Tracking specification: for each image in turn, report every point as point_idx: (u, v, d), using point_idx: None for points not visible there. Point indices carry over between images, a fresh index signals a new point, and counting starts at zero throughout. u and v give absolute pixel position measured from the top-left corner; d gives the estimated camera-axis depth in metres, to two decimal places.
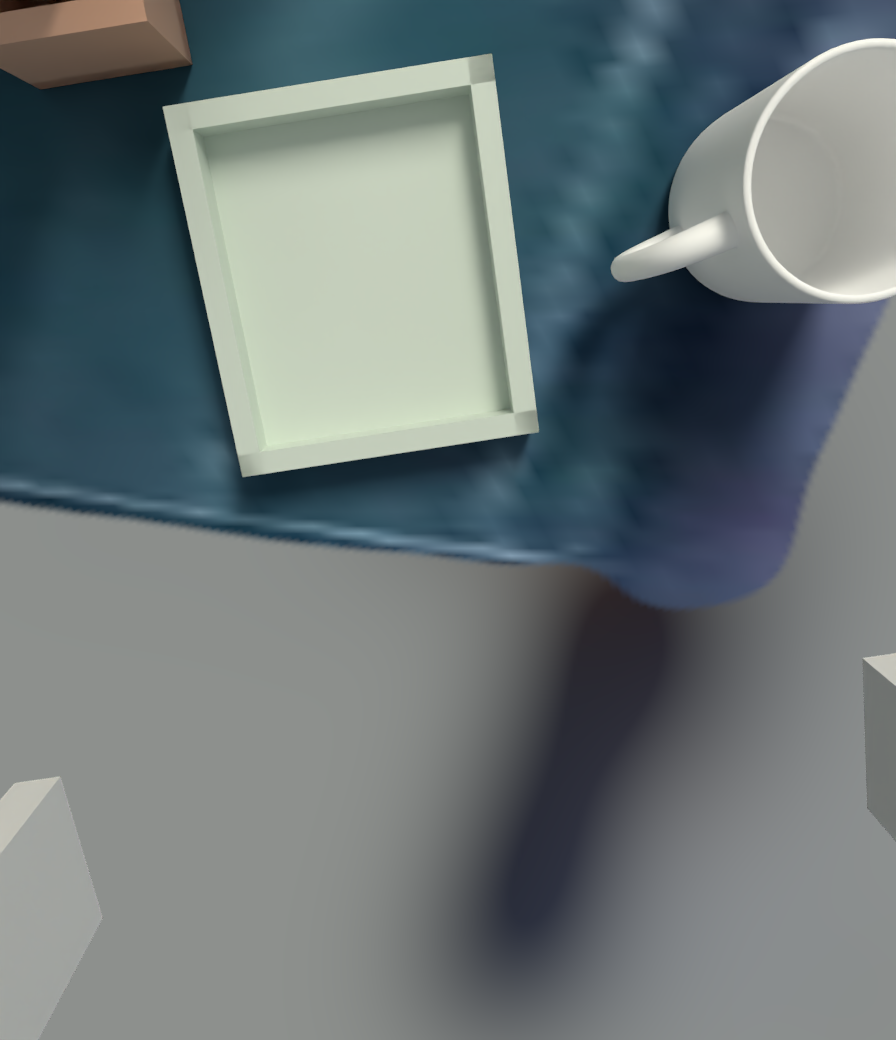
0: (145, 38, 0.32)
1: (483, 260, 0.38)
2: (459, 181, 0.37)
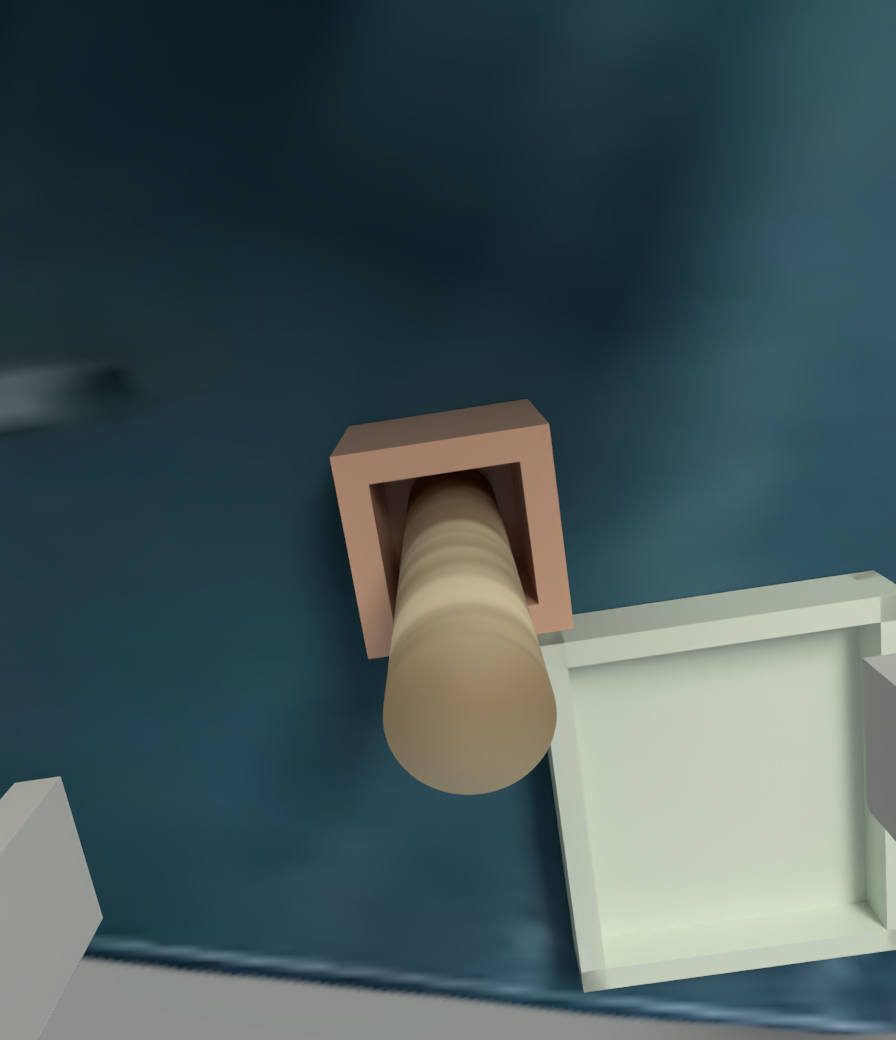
0: None
1: (855, 762, 0.34)
2: (837, 688, 0.34)
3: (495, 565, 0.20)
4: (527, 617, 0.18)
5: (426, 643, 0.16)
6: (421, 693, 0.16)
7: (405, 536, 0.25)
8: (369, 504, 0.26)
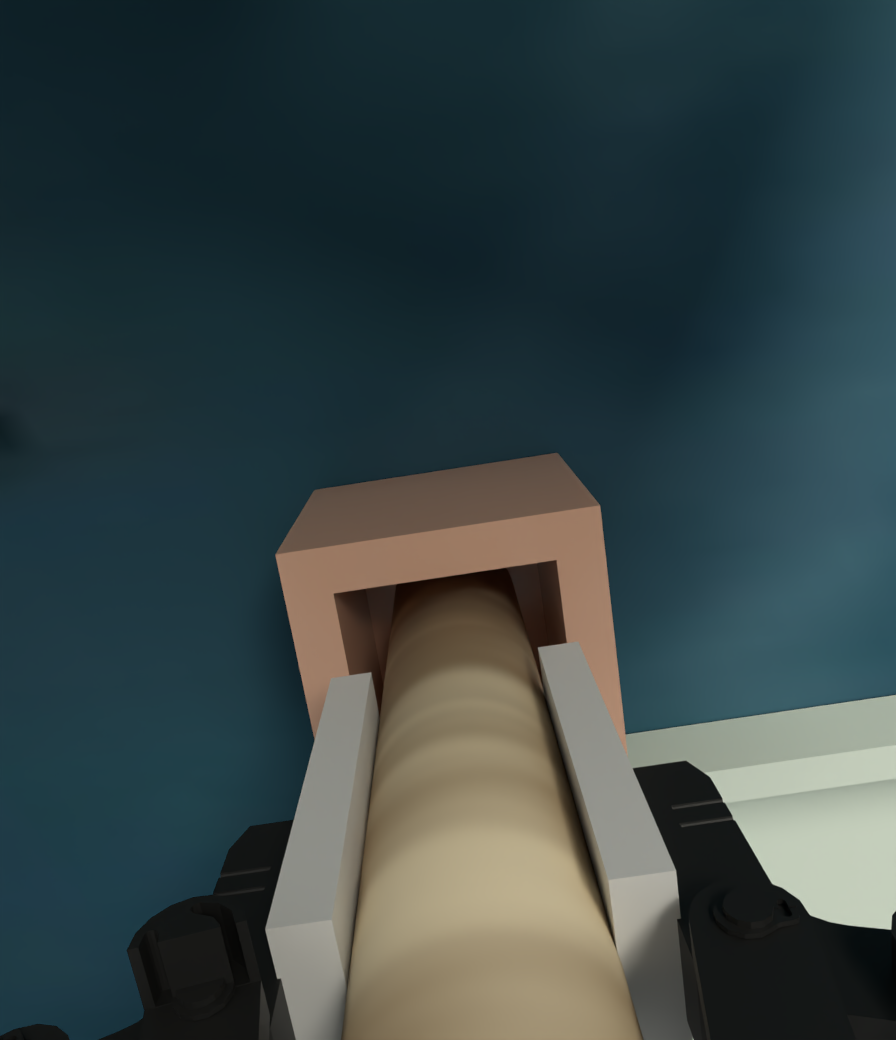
0: None
1: None
2: None
3: (534, 783, 0.12)
4: (601, 917, 0.10)
5: None
6: None
7: (387, 674, 0.17)
8: (334, 621, 0.18)
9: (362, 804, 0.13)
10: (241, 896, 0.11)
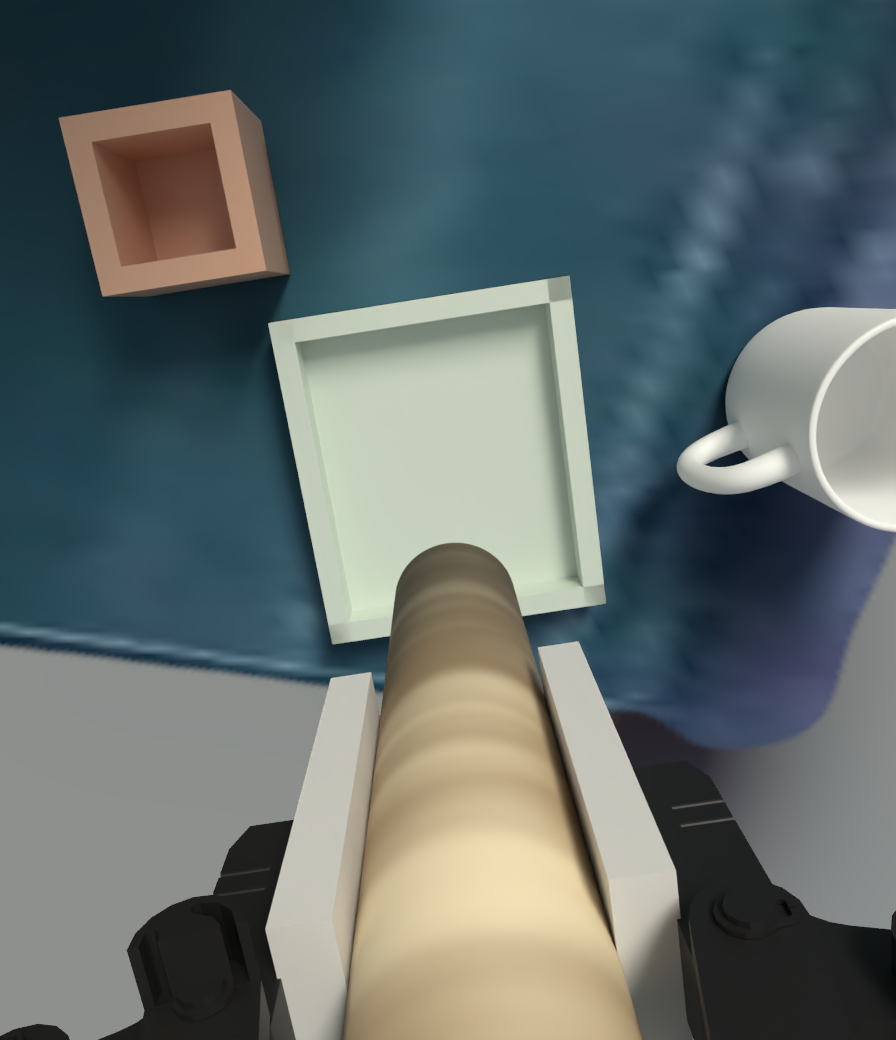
0: (258, 274, 0.36)
1: (555, 446, 0.41)
2: (533, 378, 0.40)
3: (535, 786, 0.12)
4: (602, 922, 0.10)
5: None
6: None
7: (387, 676, 0.17)
8: (93, 159, 0.33)
9: (362, 804, 0.13)
10: (241, 896, 0.11)
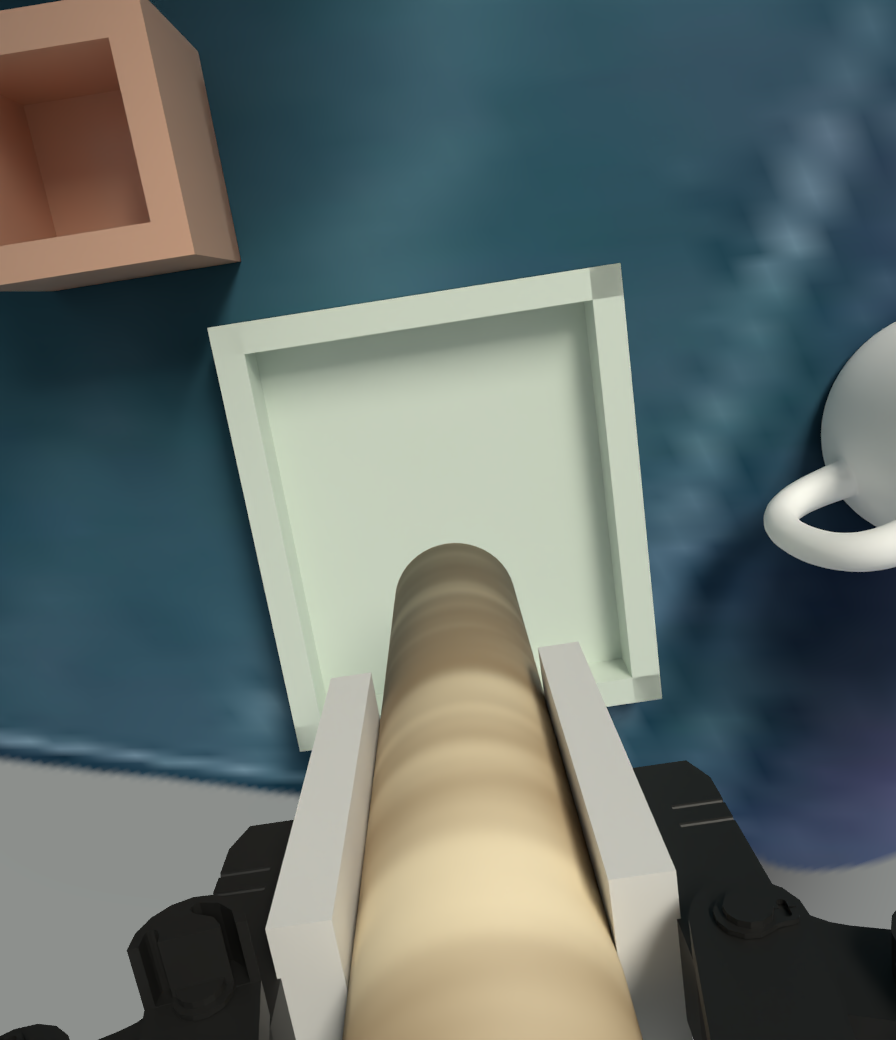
0: (189, 260, 0.26)
1: (595, 490, 0.31)
2: (568, 400, 0.30)
3: (535, 787, 0.12)
4: (602, 923, 0.10)
5: None
6: None
7: (387, 677, 0.17)
8: None
9: (362, 804, 0.13)
10: (241, 896, 0.11)
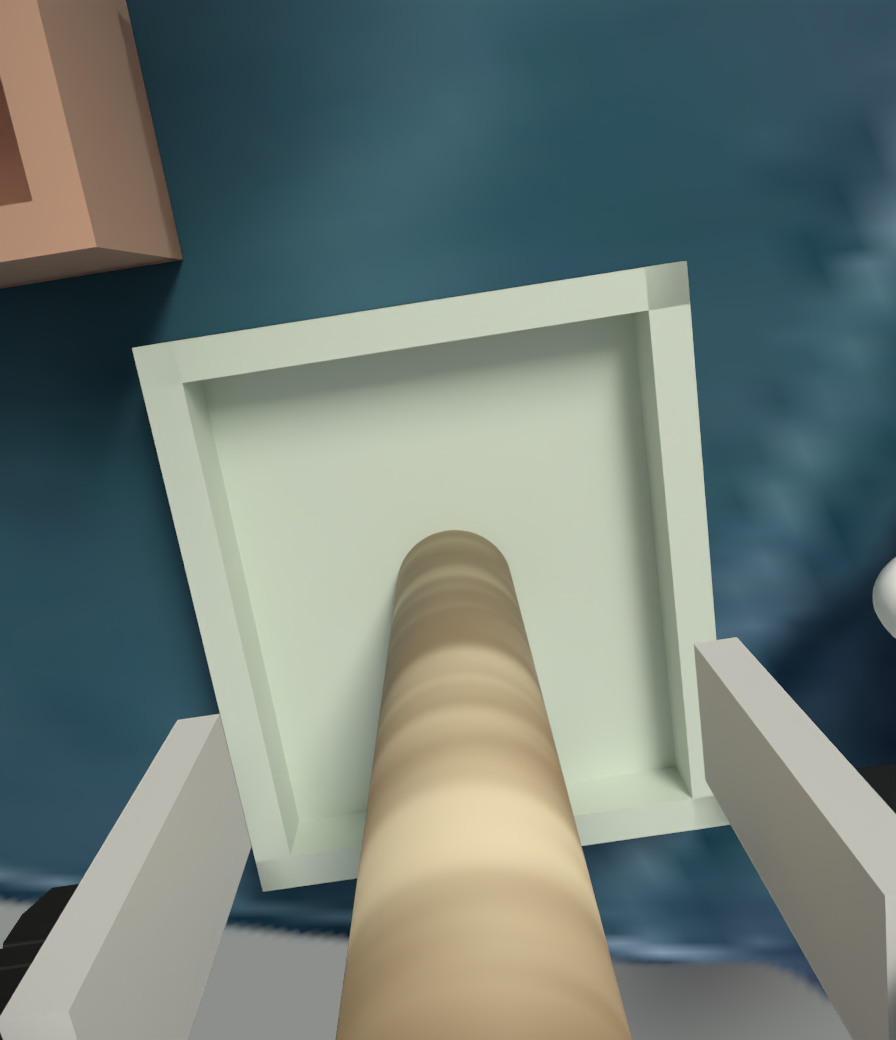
0: (98, 256, 0.18)
1: (645, 556, 0.24)
2: (611, 441, 0.23)
3: (522, 747, 0.13)
4: (578, 863, 0.11)
5: (406, 984, 0.08)
6: None
7: (389, 653, 0.18)
8: None
9: (170, 864, 0.12)
10: (13, 972, 0.10)
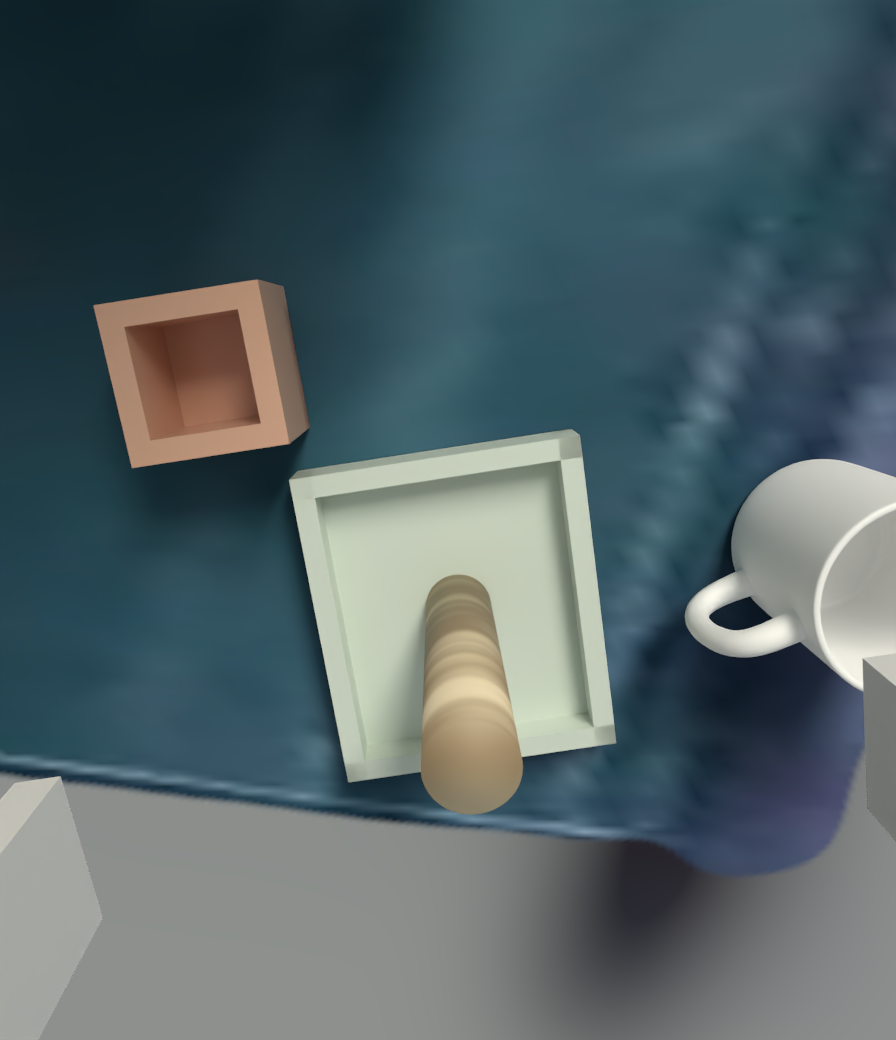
0: None
1: (566, 589, 0.42)
2: (545, 525, 0.42)
3: (488, 667, 0.31)
4: (507, 704, 0.29)
5: (446, 724, 0.27)
6: (443, 754, 0.27)
7: (427, 637, 0.36)
8: (125, 342, 0.34)
9: None
10: None
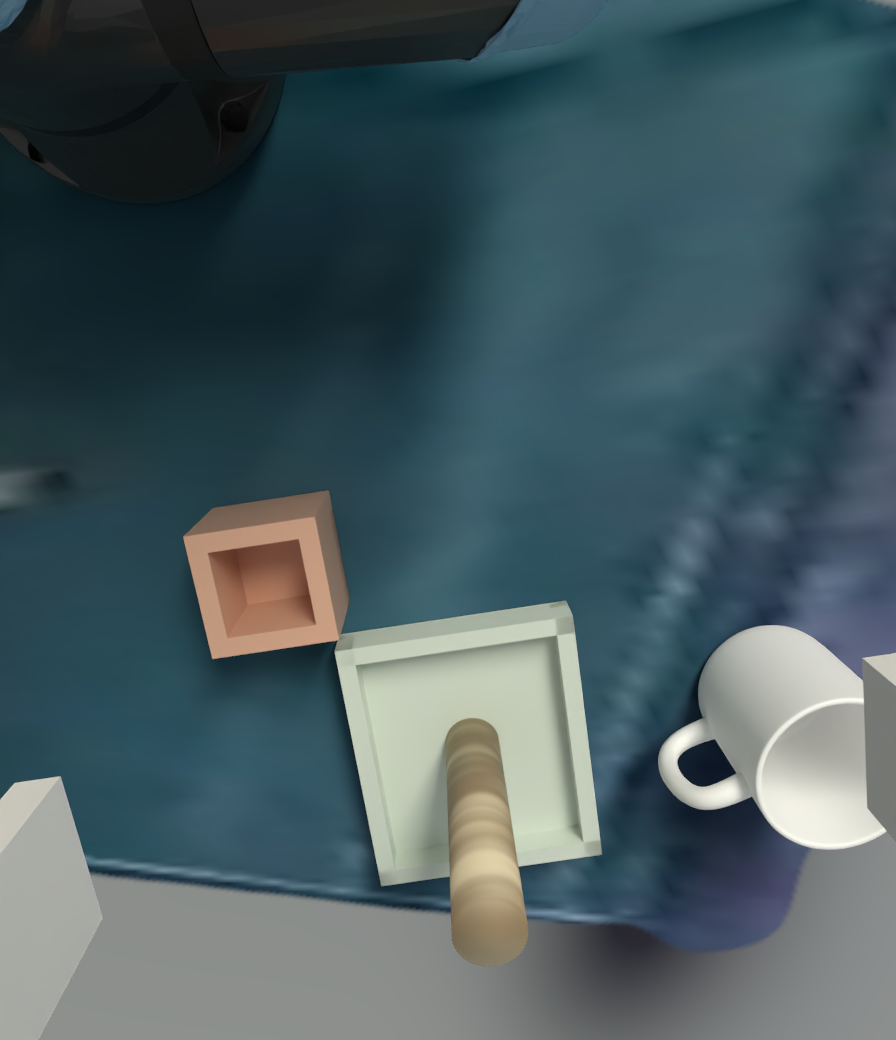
0: None
1: (561, 729, 0.51)
2: (544, 679, 0.50)
3: (500, 836, 0.40)
4: (515, 873, 0.38)
5: (471, 902, 0.36)
6: (468, 924, 0.36)
7: (449, 789, 0.45)
8: (208, 564, 0.43)
9: None
10: None
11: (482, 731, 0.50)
